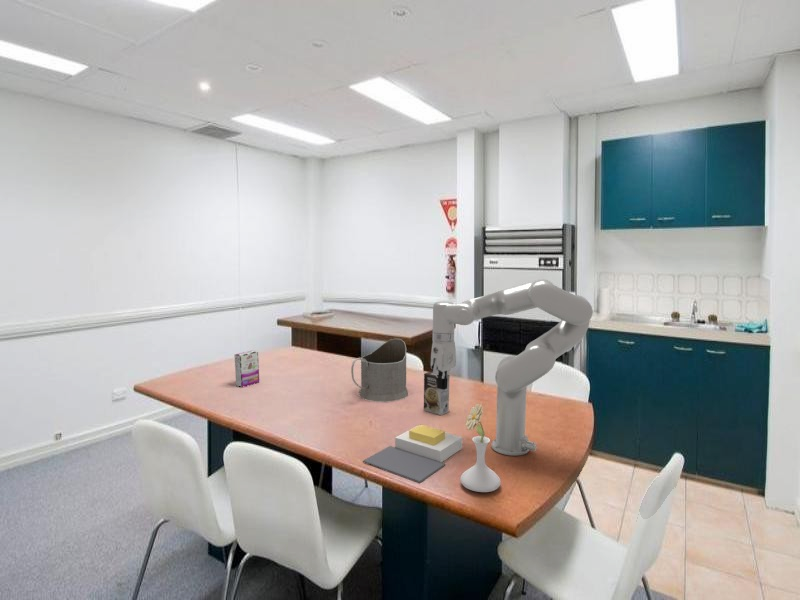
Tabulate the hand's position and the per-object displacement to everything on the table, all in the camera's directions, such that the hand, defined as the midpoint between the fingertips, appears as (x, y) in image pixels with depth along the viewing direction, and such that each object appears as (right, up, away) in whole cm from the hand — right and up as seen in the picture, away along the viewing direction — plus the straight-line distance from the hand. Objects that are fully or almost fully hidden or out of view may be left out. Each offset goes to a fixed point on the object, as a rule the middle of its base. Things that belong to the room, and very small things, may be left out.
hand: (442, 388), depth 161 cm
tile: (-6, -16, -7) cm, 18 cm away
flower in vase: (+8, -22, -31) cm, 39 cm away
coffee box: (0, -16, +32) cm, 35 cm away
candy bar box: (-92, -12, +71) cm, 117 cm away
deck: (-5, -19, -5) cm, 21 cm away
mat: (-14, -21, -17) cm, 30 cm away
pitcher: (-25, -14, +52) cm, 60 cm away
